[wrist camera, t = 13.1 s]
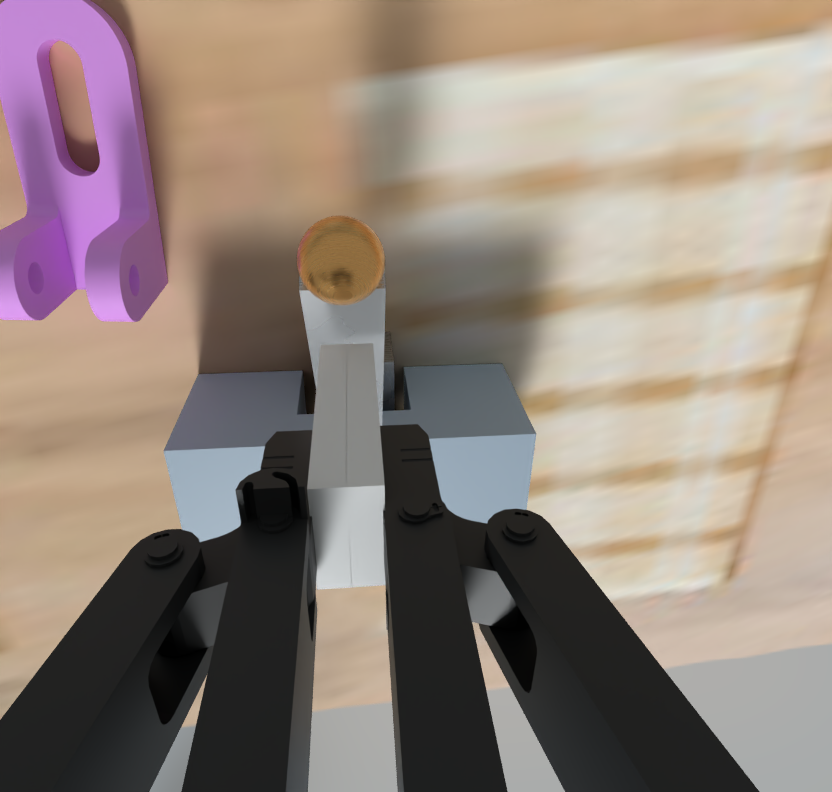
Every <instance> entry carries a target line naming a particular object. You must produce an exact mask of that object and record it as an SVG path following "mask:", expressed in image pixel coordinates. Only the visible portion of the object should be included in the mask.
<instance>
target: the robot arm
mask: <svg viewBox="0 0 832 792" xmlns="http://www.w3.org/2000/svg"><path fill="white" fill-rule="evenodd" d="M235 491H236V497H237V503H238V508H239V514H240V520H241V525H240V526H239V527H238V528H237V529H235V530H233V531H231V532H229V533H227V534H225V535H222V536H219V537H216V538H213V539H209V540H206V541H202V542H200V541H199V538H198V537H196V536H195V535H194V534H193V533H192V532H189V531H185V530H182V529H171V530H164V531H160V532H157V533H153V534H151V535H150V536H148V537H146V538H144V539H142V540H140V541H139V542H138V543H137V544H136V545H135V546H134V547H133V548H132V549H131V550H130V551H129V553H128V554H127V555H126V557H125V558H124V559H123V561H122V562H121V563H120V564H119V566H118V567H117V568H116V570H115V571H114V572H113V574H112V575H111V576H110V578H109V579H108V580H107V581H106V583H105V584H104V585H103V587H102V588H101V589H100V591H99V592H98V593H97V595H96V596H95V597H94V598H93V600H92V601H91V602H90V604H89V605H88V606H87V608H86V609H85V610H84V611H83V613H82V614H81V615H80V617H79V618H78V619H77V621H76V622H75V623H74V625H73V626H72V627H71V628H70V630H69V631H68V632H67V634H66V635H65V636H64V638H63V639H62V640H61V641H60V643H59V644H58V645H57V647H56V648H55V649H54V651H53V652H52V653H51V655H50V656H49V657H48V658H47V660H46V661H45V662H44V664H43V665H42V666H41V668H40V669H39V670H38V671H37V673H36V674H35V675H34V677H33V678H32V679H31V681H30V682H29V683H28V685H27V686H26V687H25V688H24V690H23V691H22V692H21V694H20V695H19V696H18V698H17V699H16V700H15V701H14V703H13V704H12V705H11V707H10V708H9V709H8V711H7V712H6V713H5V715H4V716H3V717H2V718H1V720H0V792H149V791H150V789H151V787H152V785H153V783H154V781H155V779H156V777H157V775H158V773H159V771H160V769H161V767H162V765H163V763H164V761H165V758H166V756H167V754H168V752H169V750H170V748H171V746H172V744H173V742H174V740H175V738H176V736H177V734H178V732H179V730H180V728H181V726H182V724H183V722H184V720H185V718H186V716H187V714H188V712H189V710H190V708H191V706H192V704H193V702H194V700H195V698H196V696H197V694H198V692H199V690H200V688H201V686H202V683H203V681H204V679H205V677H206V675H207V679H206V683H205V688H204V692H203V697H202V701H201V706H200V711H199V715H198V720H197V724H196V729H195V733H194V738H193V742H192V747H191V751H190V756H189V760H188V765H187V769H186V774H185V779H184V784H183V787H182V792H308V775H309V756H310V736H311V718H312V699H313V680H314V661H315V642H316V623H317V603H316V593H315V592H316V584H317V590H318V589H333V588H349V587H364V586H379V585H386V624H387V630H388V643H389V659H390V675H391V691H392V706H393V723H394V738H395V753H396V768H397V769H396V770H397V786H398V792H507V787H506V783H505V778H504V773H503V768H502V763H501V759H500V754H499V749H498V744H497V740H496V736H495V730H494V725H493V721H492V716H491V711H490V706H489V702H488V697H487V692H486V687H485V682H484V678H483V673H482V668H481V663H480V658H479V654H478V649H477V644H476V639H475V635H474V630H473V625H472V622H475V623H479V626H480V630H481V632H482V634H483V636H484V638H485V640H486V641H487V643H488V645H489V647H490V649H491V651H492V653H493V655H494V657H495V659H496V661H497V662H498V664H499V666H500V668H501V670H502V672H503V674H504V676H505V678H506V680H507V682H508V683H509V685H510V687H511V689H512V691H513V693H514V695H515V697H516V699H517V701H518V702H519V704H520V706H521V708H522V710H523V712H524V714H525V716H526V718H527V720H528V722H529V723H530V725H531V727H532V729H533V731H534V733H535V735H536V737H537V739H538V741H539V743H540V744H541V746H542V748H543V750H544V752H545V754H546V756H547V758H548V760H549V762H550V764H551V765H552V767H553V769H554V771H555V773H556V775H557V777H558V779H559V781H560V782H561V785H562V786H563V788H564V790H565V792H759V791H758V789H757V788H756V787H755V786H754V784H753V783H752V782H751V780H750V779H749V778H748V777H747V775H746V774H745V773H744V771H743V770H742V769H741V768H740V766H739V765H738V764H737V763H736V761H735V760H734V759H733V757H732V756H731V755H730V754H729V752H728V751H727V750H726V749H725V747H724V746H723V745H722V743H721V742H720V741H719V739H718V738H717V737H716V736H715V735H714V733H713V732H712V731H711V729H710V728H709V727H708V726H707V724H706V723H705V722H704V720H703V719H702V718H701V716H699V714H698V713H697V711H696V710H695V709H694V708H693V706H692V705H691V704H690V702H689V701H688V700H687V699H686V697H685V696H684V695H683V694H682V692H681V691H680V690H679V688H678V687H677V686H676V685H675V683H674V682H673V681H672V679H671V678H670V677H669V676H668V674H667V673H666V672H665V671H664V669H663V668H662V667H661V665H660V664H659V663H658V662H657V660H656V659H655V658H654V656H653V655H652V654H651V653H650V651H649V650H648V649H647V648H646V646H645V645H644V644H643V642H642V641H641V640H640V639H639V637H638V636H637V635H636V633H635V632H634V631H633V630H632V628H631V627H630V626H629V625H628V623H627V622H626V621H625V619H624V618H623V617H622V616H621V614H620V613H619V612H618V610H617V609H616V608H615V607H614V605H613V604H612V603H611V602H610V600H609V599H608V598H607V596H606V595H605V594H604V593H603V591H602V590H601V589H600V587H599V586H598V585H597V584H596V582H595V581H594V580H593V579H592V577H591V576H590V575H589V573H588V572H587V571H586V570H585V568H584V567H583V566H582V564H581V563H580V562H579V561H578V559H577V558H576V557H575V556H574V554H573V553H572V552H571V550H570V549H569V548H568V547H567V545H566V544H565V543H564V542H563V540H562V539H561V538H560V536H559V535H558V534H557V533H556V531H555V530H554V529H553V527H552V526H551V525H550V524H549V523H548V522H547V521H546V520H545V519H544V518H543V517H542V516H540V515H538V514H536V513H533V512H531V511H528V510H523V509H505V510H502V511H500V512H497V513H495V514H494V515H493V516H492V517H491V518H490V519H489V520H488V523H482V522H476V521H471V520H468V519H464V518H461V517H459V516H457V515H455V514H454V513H452V512H451V511H450V510H448V509H447V507H446V505H445V503H444V502H443V501H442V499H441V495H440V490H439V485H438V480H437V476H436V471H435V466H434V461H433V456H432V451H431V446H430V441H429V436H428V434H427V433H426V432H425V431H424V430H423V429H422V428H421V427H420V426H419V425H418V424H407V425H383V426H380V422H379V410H378V397H377V385H376V373H375V360H374V348H373V343H367V344H334V345H321V346H320V357H319V367H318V378H317V389H316V399H315V410H314V421H313V430H299V431H276V433H275V434H274V435H273V436H272V437H271V438H270V439H269V440H268V441H267V443H266V444H265V449H264V454H263V460H262V463H261V470H259V471H257V472H254V473H252V474H250V475H248V476H247V477H245V478H244V479H243V480H242V481H240V483H239V484H238V486H237V488H236V490H235ZM207 673H208V674H207Z"/></svg>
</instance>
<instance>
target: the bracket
mask: <svg viewBox="0 0 832 792" xmlns="http://www.w3.org/2000/svg"><path fill="white" fill-rule="evenodd" d="M59 40H61V41H64V42H66V43H67V44H69V45H70V46H71V47H73V48H74V50H75V51H76V52H77V53H78V55H79V57H80V59H81V61H82V65H83V70H84V75H85V80H86V86H87V91H88V97H89V102H90V107H91V113H92V118H93V124H94V129H95V134H96V140H97V145H98V151H99V156H100V164H99V167H98V169H97V171H96V172H90V171H86V170H83V169H81V168H80V167H78V166H77V165H76V164H75V163H74V162H73V161H72V159H71V158H70V156H69V153H68V149H67V144H66V139H65V135H64V130H63V125H62V120H61V115H60V111H59V106H58V101H57V96H56V92H55V87H54V82H53V77H52V72H51V68H50V63H49V52H50V49H51V47H52V45H53V44H54V43H56V42H57V41H59ZM0 99H1V103H2V107H3V111H4V115H5V119H6V123H7V127H8V131H9V135H10V139H11V143H12V147H13V151H14V155H15V159H16V163H17V167H18V171H19V175H20V179H21V183H22V187H23V191H24V195H25V199H26V203H27V214H26V216H25V217H24V218H22V219H20V220H18V221H17V222H15V223H13V224H11V225H9V226H7V227H5V228H4V229H2V230H0V319H3V320H42V319H44V318H46V317H47V316H48V315H49V314H50V313H51V312H52V311H53V310H55V309H56V308H57V307H58V306H59V305H60V304H61V303H62V302H63V301H64V300H66V299H67V298H68V297H69V296H70V295H71V294H72V293H73V292H74V291H75V290H77V289H86V292H87V296H88V300H89V303H90V306H91V308H92V310H93V312H94V314H95V315H96V317H97V318H98V319H99V320H101V321H128V322H137V321H139V320H140V319H141V318H142V317H143V315H144V314H145V313H146V311H147V310H148V309H149V307H150V306H151V305H152V303H153V302H154V301H155V299H156V298H157V297H158V295H159V294H160V293H161V291H162V290H163V289H164V287H165V286H166V285H167V283H168V280H167V273H166V266H165V260H164V253H163V246H162V239H161V233H160V226H159V219H158V212H157V206H156V199H155V192H154V185H153V179H152V172H151V165H150V158H149V152H148V145H147V138H146V131H145V125H144V118H143V111H142V104H141V98H140V91H139V84H138V77H137V71H136V65H135V60H134V56H133V53H132V50H131V48H130V45H129V43H128V41H127V39H126V37H125V35H124V34H123V32H122V30H121V29H120V28H119V26H118V25H117V24H116V22H115V21H114V20H113V19H112V18H111V17H110V16H109V15H108V14H107V13H106V12H105V11H104V10H103V9H102V8H100V7H99V6H98V5H96V4H95V3H93V2H92V1H90V0H4V1H3V2H2V3H1V4H0Z"/></svg>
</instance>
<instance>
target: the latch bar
mask: <svg viewBox="0 0 832 792" xmlns="http://www.w3.org/2000/svg"><path fill="white" fill-rule="evenodd" d="M297 267H298V271H299V292H300V298H301V304H302V310H303V315H304V321H305V327H306V333H307V339H308V344H309V350H310V356H311V362H312V368H313V373H314V379H315V385H316V389H317V378H318V367H319V357H320V346H321V345H334V344H367V343H373V348H374V360H375V373H376V385H377V397H378V410H379V422H380V426H382V413H383V375H384V336H385V298H386V285H385V270H384V269H385V254H384V250H383V247H382V244H381V242H380V240H379V238H378V236H377V235H376V234H375V232H374V231H373V230H372V229H371V228H370V227H369V226H367V225H366V224H365V223H363V222H362V221H360V220H358V219H355V218H352V217H348V216H331V217H328V218H325V219H322V220H320V221H318V222H317V223H315V224H314V225H313V226H311V227H310V228H309V229H308V231H307V232H306V233H305V234H304V236H303V238H302V240H301V242H300V244H299V248H298V252H297Z"/></svg>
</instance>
